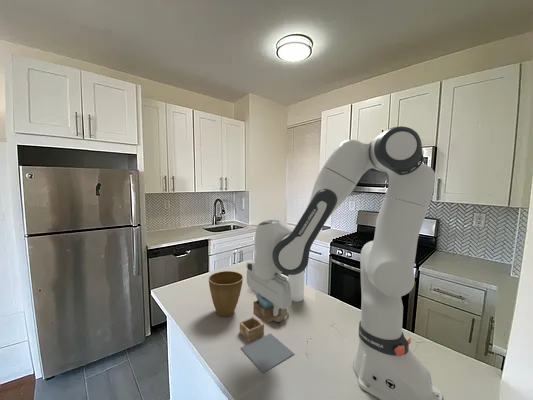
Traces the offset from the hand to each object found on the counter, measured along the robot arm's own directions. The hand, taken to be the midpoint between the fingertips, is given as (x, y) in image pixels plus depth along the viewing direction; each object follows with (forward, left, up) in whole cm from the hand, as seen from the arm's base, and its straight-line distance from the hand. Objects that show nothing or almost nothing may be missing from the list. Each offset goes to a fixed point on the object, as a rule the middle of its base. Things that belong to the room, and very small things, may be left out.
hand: (267, 309), depth 77 cm
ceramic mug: (+14, -16, -15) cm, 26 cm away
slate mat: (0, 0, -15) cm, 15 cm away
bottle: (+21, -34, -15) cm, 43 cm away
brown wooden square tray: (0, 0, -2) cm, 2 cm away
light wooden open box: (+11, -1, -15) cm, 19 cm away
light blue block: (0, 0, -2) cm, 2 cm away
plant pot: (+30, 0, -15) cm, 34 cm away
